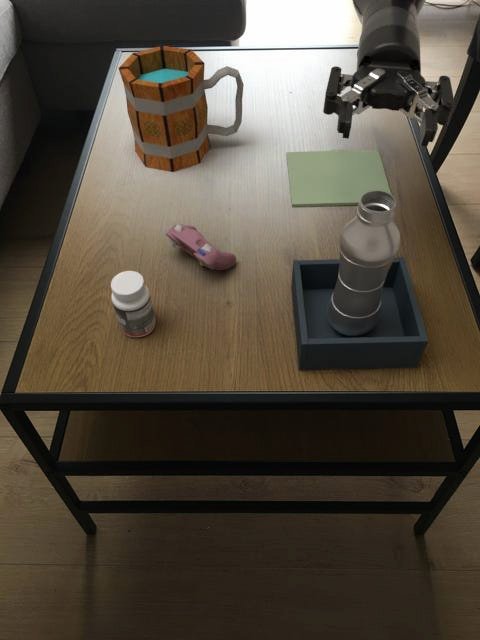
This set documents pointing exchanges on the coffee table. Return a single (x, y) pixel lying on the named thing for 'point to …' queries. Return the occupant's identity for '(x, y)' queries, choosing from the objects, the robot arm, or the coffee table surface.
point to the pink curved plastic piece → (199, 247)
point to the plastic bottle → (364, 264)
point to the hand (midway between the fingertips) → (386, 135)
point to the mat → (334, 177)
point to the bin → (365, 350)
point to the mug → (172, 106)
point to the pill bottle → (132, 304)
